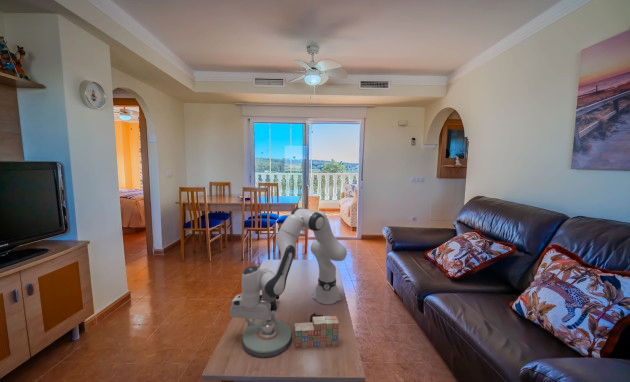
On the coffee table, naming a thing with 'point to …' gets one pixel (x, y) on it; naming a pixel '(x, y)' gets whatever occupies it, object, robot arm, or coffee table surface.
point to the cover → (268, 330)
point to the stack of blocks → (317, 332)
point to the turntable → (266, 345)
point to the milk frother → (269, 300)
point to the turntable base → (266, 355)
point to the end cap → (314, 316)
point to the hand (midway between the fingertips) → (250, 325)
